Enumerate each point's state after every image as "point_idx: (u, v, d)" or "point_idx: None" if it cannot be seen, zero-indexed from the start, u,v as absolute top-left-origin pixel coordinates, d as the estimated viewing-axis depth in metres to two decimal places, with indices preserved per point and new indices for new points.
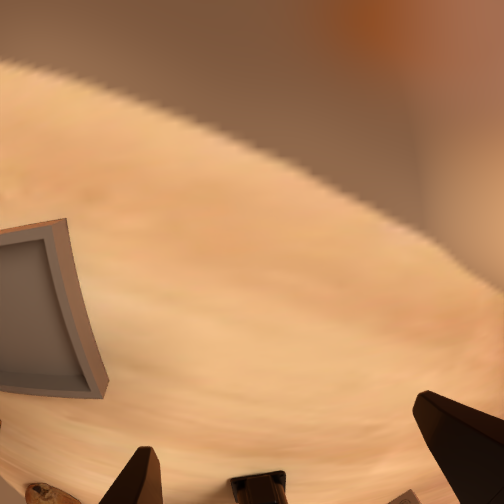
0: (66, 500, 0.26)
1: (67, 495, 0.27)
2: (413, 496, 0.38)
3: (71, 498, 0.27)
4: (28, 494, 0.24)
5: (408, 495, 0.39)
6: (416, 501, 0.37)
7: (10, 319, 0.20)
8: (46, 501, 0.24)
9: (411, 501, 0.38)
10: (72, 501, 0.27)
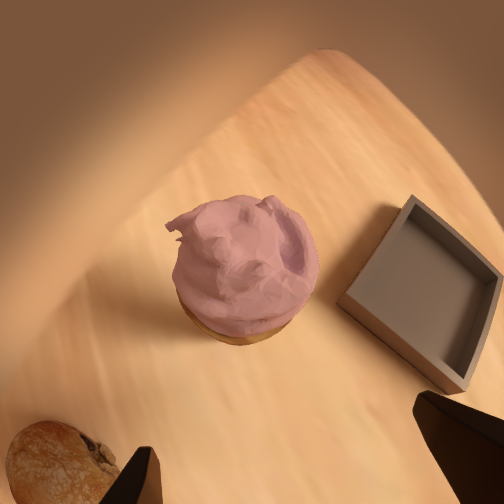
0: None
1: None
2: None
3: None
4: (63, 430, 0.16)
5: None
6: None
7: (421, 291, 0.26)
8: (100, 469, 0.15)
9: None
10: None
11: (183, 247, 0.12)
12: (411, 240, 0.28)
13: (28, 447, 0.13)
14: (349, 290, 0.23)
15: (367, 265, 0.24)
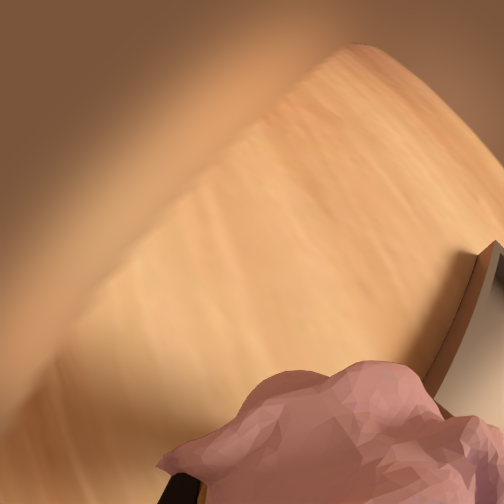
0: None
1: None
2: None
3: None
4: None
5: None
6: None
7: (501, 367, 0.16)
8: None
9: None
10: None
11: None
12: (491, 301, 0.19)
13: None
14: (437, 394, 0.13)
15: (458, 353, 0.14)
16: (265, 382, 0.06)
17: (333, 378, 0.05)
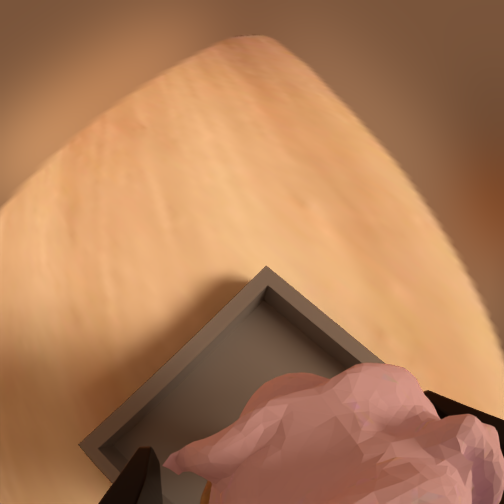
0: None
1: None
2: None
3: None
4: None
5: None
6: None
7: None
8: None
9: None
10: None
11: None
12: (259, 351, 0.17)
13: None
14: (83, 442, 0.11)
15: (119, 410, 0.13)
16: (267, 384, 0.06)
17: (334, 379, 0.05)
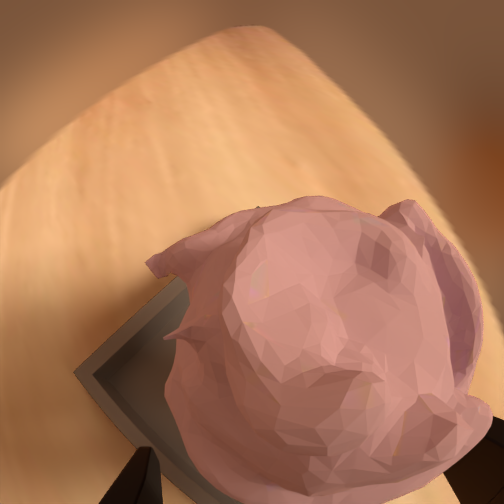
0: None
1: None
2: None
3: None
4: None
5: None
6: None
7: None
8: None
9: None
10: None
11: None
12: None
13: None
14: (78, 369, 0.13)
15: (116, 334, 0.14)
16: None
17: (295, 200, 0.06)
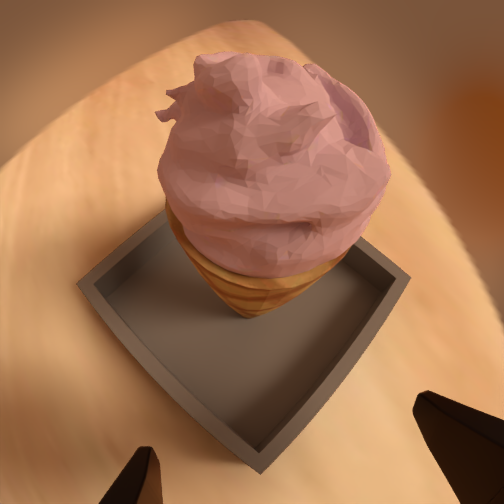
0: None
1: None
2: None
3: None
4: None
5: None
6: None
7: None
8: None
9: None
10: None
11: (178, 121, 0.07)
12: None
13: None
14: (81, 281, 0.16)
15: (117, 249, 0.17)
16: None
17: None
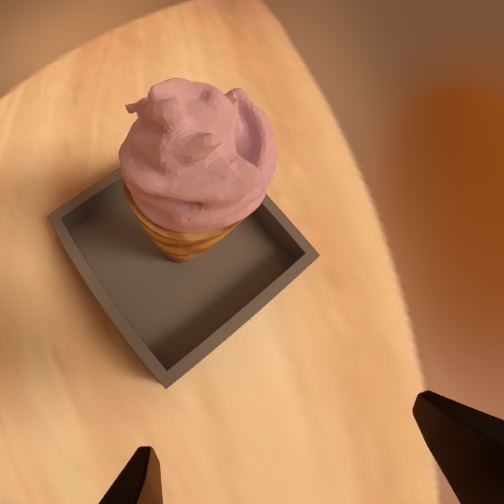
0: None
1: None
2: None
3: None
4: None
5: None
6: None
7: None
8: None
9: None
10: None
11: (137, 121, 0.10)
12: None
13: None
14: (51, 214, 0.18)
15: (84, 192, 0.19)
16: None
17: None
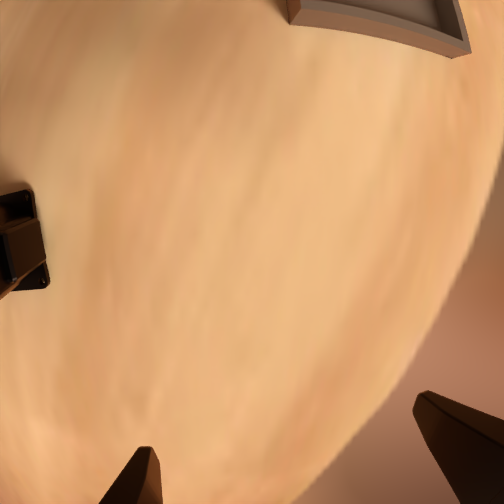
0: None
1: None
2: None
3: None
4: None
5: None
6: None
7: None
8: None
9: None
10: None
11: None
12: None
13: None
14: None
15: None
16: None
17: None
